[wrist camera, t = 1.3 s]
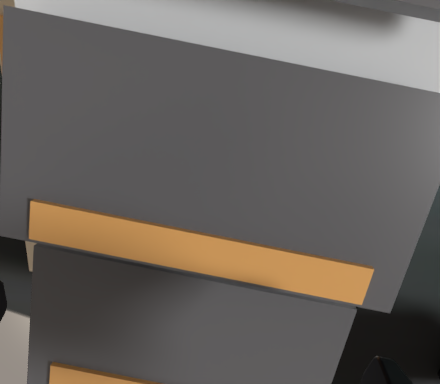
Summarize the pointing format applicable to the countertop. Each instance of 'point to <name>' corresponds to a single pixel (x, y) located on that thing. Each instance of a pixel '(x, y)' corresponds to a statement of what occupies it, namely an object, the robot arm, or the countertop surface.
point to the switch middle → (213, 160)
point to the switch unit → (274, 34)
